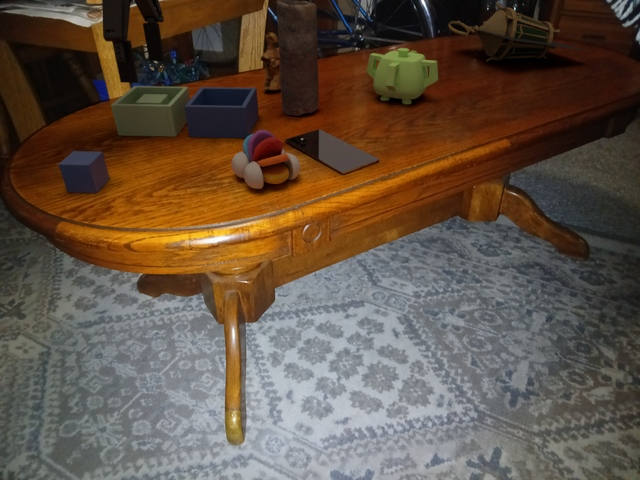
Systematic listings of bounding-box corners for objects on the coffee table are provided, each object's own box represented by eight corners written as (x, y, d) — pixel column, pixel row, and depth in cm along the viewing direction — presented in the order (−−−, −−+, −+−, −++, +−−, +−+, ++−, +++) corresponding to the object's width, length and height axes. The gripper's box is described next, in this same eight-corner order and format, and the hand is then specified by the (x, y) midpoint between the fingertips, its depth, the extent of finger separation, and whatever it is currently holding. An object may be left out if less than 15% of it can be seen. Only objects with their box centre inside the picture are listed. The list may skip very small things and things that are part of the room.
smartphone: (342, 172, 78) (283, 138, 88) (342, 176, 78) (283, 141, 89) (379, 159, 82) (319, 127, 92) (379, 162, 82) (319, 130, 92)
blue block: (67, 192, 74) (58, 164, 72) (81, 178, 78) (73, 150, 76) (97, 193, 74) (88, 165, 72) (110, 178, 78) (102, 151, 75)
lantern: (576, 82, 127) (483, 61, 114) (512, 67, 146) (426, 48, 133) (599, 24, 121) (504, -5, 109) (529, 16, 140) (442, -9, 127)
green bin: (118, 135, 92) (110, 105, 89) (140, 114, 101) (133, 85, 97) (176, 136, 91) (170, 106, 88) (192, 115, 100) (188, 86, 97)
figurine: (291, 91, 111) (288, 33, 105) (267, 95, 109) (263, 36, 102) (281, 85, 115) (278, 28, 108) (258, 89, 112) (253, 32, 106)
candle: (283, 103, 105) (278, -4, 93) (319, 103, 104) (318, -4, 93) (280, 117, 98) (273, 4, 87) (318, 117, 98) (316, 4, 87)
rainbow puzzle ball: (256, 198, 72) (252, 151, 68) (227, 173, 79) (221, 128, 75) (307, 182, 76) (306, 136, 72) (275, 159, 83) (272, 116, 79)
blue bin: (189, 137, 91) (184, 106, 88) (204, 115, 100) (200, 86, 96) (248, 138, 90) (245, 107, 87) (258, 116, 99) (256, 87, 96)
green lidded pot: (437, 103, 104) (444, 53, 99) (386, 109, 101) (389, 58, 96) (411, 86, 113) (415, 39, 108) (363, 91, 110) (365, 44, 105)
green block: (140, 126, 94) (135, 102, 91) (149, 117, 97) (144, 94, 95) (164, 126, 93) (159, 102, 91) (172, 117, 97) (168, 94, 95)
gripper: (108, -67, 68) (138, 93, 80) (168, -75, 88) (185, 53, 100) (53, -67, 68) (92, 92, 80) (126, -76, 89) (148, 52, 100)
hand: (144, 70), depth 90 cm, fingers open, 12 cm apart
